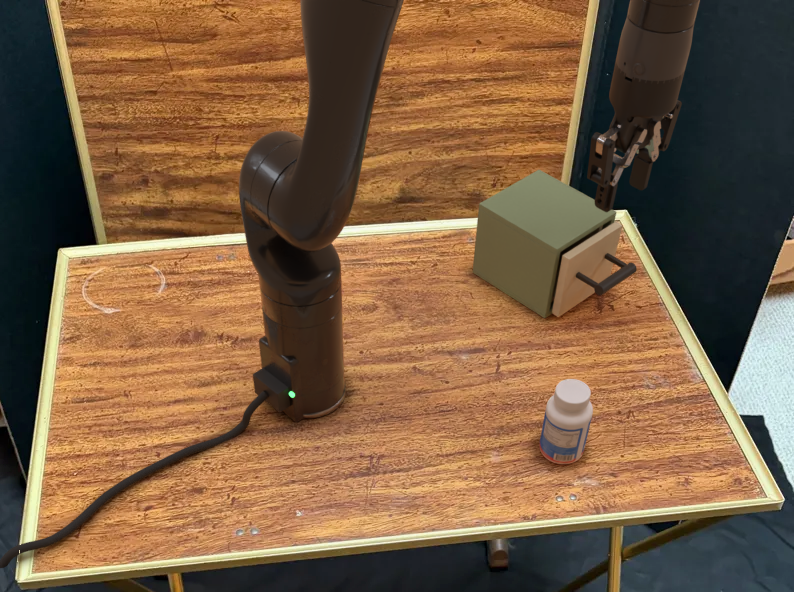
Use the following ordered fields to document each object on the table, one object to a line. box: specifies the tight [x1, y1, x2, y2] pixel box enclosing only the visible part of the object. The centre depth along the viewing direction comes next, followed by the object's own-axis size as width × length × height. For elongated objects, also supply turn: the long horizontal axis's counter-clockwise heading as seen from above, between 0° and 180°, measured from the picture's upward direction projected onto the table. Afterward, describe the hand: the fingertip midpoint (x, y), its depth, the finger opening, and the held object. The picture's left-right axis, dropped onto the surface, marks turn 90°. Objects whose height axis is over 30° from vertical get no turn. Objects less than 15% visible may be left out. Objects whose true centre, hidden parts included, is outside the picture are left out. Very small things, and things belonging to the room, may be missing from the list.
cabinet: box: [472, 169, 617, 319], centre depth 133 cm, size 14×12×11 cm
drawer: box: [551, 221, 638, 318], centre depth 131 cm, size 17×11×9 cm, turn 43°
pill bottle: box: [539, 378, 594, 465], centre depth 113 cm, size 6×5×10 cm
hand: (620, 197), depth 119 cm, fingers open, 6 cm apart
